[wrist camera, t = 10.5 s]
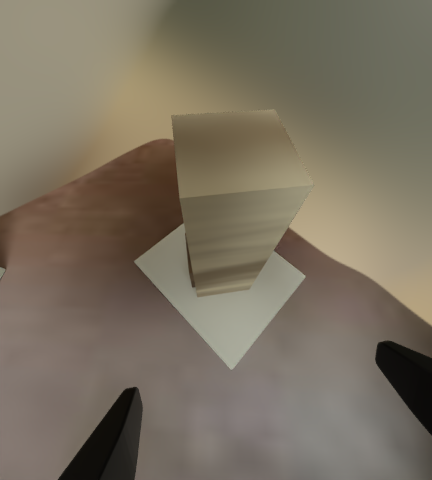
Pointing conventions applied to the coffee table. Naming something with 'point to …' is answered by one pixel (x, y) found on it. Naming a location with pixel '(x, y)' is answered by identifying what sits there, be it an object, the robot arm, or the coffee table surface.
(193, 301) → the grey pad
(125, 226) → the coffee table surface
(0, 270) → the sage screen
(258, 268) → the birch block
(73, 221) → the coffee table surface
